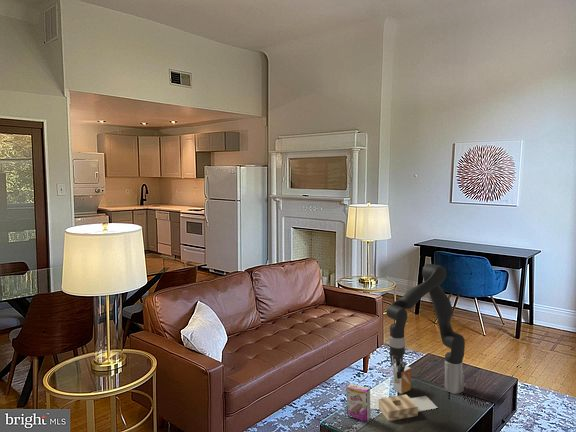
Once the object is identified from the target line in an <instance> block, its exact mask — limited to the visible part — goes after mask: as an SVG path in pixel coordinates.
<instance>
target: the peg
mask: <svg viewBox="0 0 576 432" xmlns="http://www.w3.org/2000/svg"><path fill="white" fill-rule="evenodd" d="M398 369H399V368H398ZM394 382H395V383H397V384H399V383H400V379H398V378H397V368H396V366H395V363H394Z"/></svg>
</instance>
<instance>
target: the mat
mask: <svg viewBox="0 0 576 432" xmlns="http://www.w3.org/2000/svg"><path fill="white" fill-rule="evenodd" d="M409 398H410V399H411V400H412V401H413V402H414V403H415V404H416V405H417V406H418V413H420V412H421V413H422V412H427V411H432V410H437V409H436V408H438V406H437V405H436V404H435V403H434V402H433V401H432V400H431V399H430V398H429V397H428V396H427V395H423V396H417V397H409ZM431 409H432V410H431ZM438 409H439V408H438ZM426 410H427V411H426Z"/></svg>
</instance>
